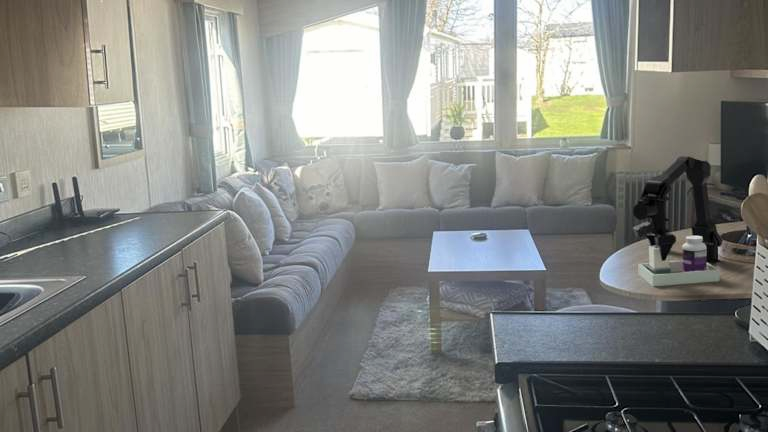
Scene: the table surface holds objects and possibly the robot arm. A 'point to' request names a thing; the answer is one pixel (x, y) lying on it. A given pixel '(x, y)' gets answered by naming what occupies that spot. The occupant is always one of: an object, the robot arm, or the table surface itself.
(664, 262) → the carton
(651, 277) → the tote
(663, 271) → the tin
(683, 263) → the pill bottle
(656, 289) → the table surface
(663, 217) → the robot arm
